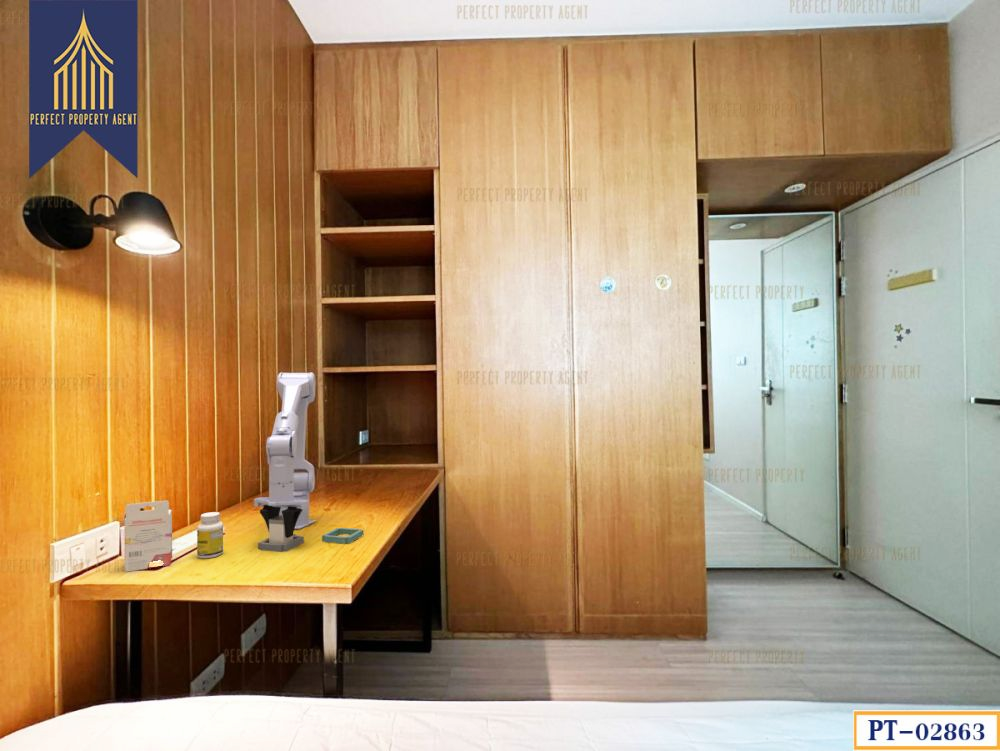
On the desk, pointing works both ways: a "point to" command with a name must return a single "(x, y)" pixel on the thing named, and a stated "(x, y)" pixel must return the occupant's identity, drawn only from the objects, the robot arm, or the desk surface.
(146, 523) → the ink cartridge box
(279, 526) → the plug
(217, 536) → the supplement bottle
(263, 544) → the socket
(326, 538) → the socket
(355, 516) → the desk surface
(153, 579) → the desk surface
